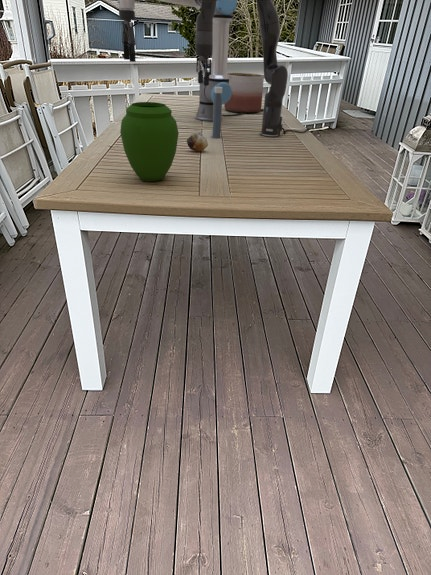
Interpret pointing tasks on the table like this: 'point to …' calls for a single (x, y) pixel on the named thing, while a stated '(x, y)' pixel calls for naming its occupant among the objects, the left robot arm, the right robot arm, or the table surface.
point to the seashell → (197, 142)
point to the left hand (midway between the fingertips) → (129, 60)
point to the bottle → (217, 116)
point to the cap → (218, 89)
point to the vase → (149, 139)
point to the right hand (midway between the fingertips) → (203, 84)
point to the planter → (245, 92)
